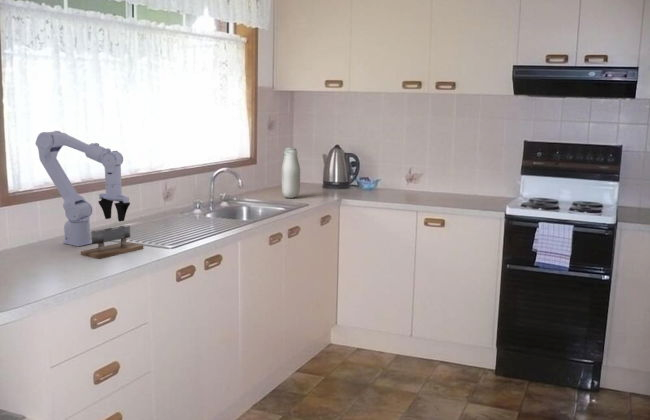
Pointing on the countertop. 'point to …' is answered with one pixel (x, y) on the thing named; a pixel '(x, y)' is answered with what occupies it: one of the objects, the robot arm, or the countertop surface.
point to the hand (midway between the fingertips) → (114, 219)
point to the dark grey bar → (110, 234)
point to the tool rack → (111, 249)
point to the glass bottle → (290, 173)
